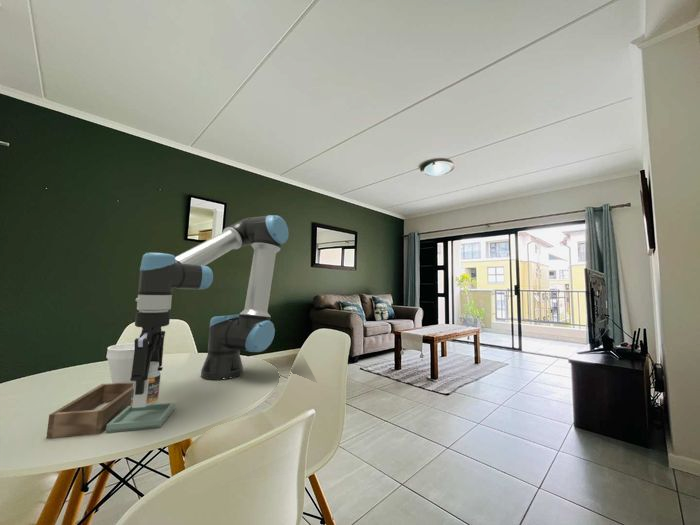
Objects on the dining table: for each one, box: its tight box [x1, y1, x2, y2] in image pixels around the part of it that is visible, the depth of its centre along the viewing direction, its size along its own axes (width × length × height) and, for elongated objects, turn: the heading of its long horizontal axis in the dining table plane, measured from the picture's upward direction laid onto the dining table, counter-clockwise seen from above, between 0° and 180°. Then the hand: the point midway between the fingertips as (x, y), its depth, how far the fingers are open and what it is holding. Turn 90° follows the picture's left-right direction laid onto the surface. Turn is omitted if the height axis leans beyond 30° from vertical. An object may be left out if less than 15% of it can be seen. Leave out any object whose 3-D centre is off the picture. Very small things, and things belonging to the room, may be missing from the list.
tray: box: [105, 402, 176, 434], centre depth 72 cm, size 11×11×2 cm
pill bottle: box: [131, 362, 161, 406], centre depth 73 cm, size 6×6×10 cm
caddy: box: [45, 382, 133, 439], centre depth 74 cm, size 10×21×5 cm, turn 16°
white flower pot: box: [105, 342, 135, 383], centre depth 95 cm, size 12×12×14 cm
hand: (144, 401), depth 73 cm, fingers closed on pill bottle, 6 cm apart
